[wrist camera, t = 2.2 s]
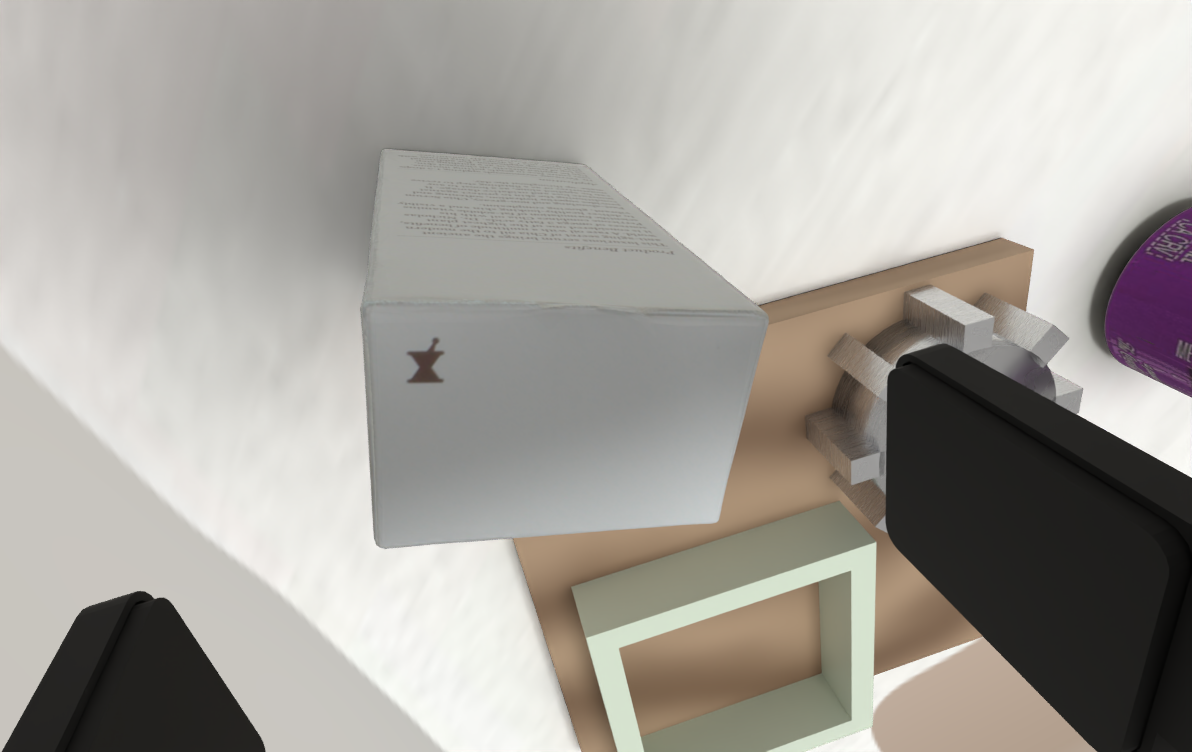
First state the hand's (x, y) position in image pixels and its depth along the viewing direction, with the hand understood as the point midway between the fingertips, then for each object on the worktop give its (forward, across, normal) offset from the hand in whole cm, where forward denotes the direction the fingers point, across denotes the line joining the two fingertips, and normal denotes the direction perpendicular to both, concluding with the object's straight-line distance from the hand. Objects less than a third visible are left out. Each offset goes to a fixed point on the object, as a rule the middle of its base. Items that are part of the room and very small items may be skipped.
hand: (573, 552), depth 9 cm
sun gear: (+12, -14, +9) cm, 21 cm away
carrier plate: (+14, -9, +14) cm, 22 cm away
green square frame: (+13, -6, +18) cm, 23 cm away
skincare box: (+14, -1, -1) cm, 14 cm away
